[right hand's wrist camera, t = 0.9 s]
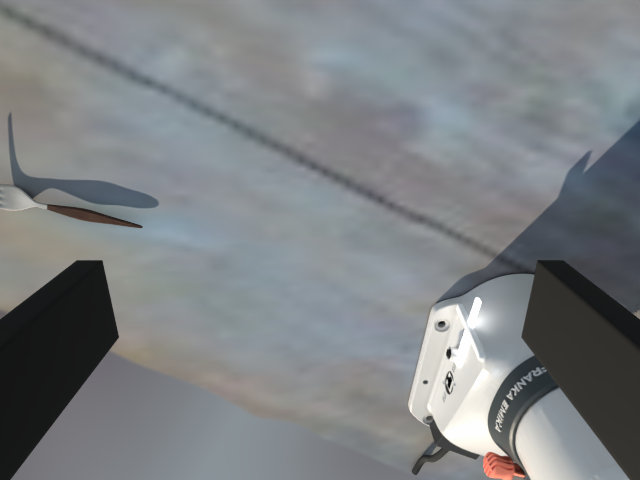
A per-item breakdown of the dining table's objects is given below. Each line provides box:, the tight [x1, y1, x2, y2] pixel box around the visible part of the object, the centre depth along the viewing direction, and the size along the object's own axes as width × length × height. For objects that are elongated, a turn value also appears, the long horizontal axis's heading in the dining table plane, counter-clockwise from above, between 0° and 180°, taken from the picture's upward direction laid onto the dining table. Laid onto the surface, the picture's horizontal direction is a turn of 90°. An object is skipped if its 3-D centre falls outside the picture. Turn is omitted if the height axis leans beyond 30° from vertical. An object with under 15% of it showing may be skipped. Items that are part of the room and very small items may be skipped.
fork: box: [0, 184, 142, 228], centre depth 40 cm, size 3×16×2 cm, turn 77°
